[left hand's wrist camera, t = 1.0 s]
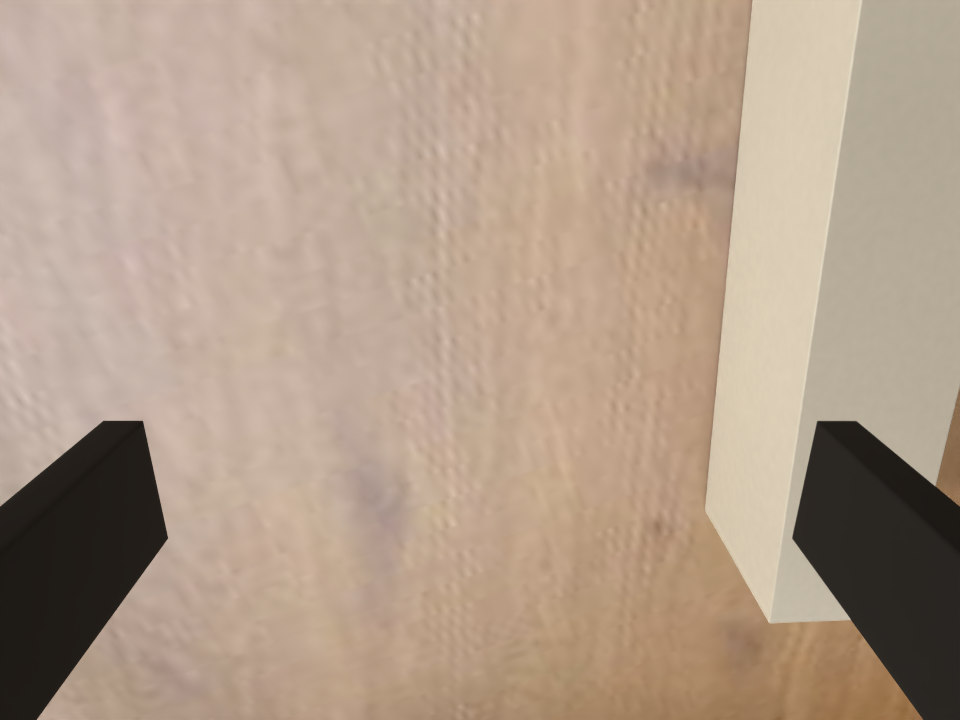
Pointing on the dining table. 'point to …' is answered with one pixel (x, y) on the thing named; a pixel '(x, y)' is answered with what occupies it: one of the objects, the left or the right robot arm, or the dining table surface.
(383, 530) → the dining table surface
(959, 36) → the board
